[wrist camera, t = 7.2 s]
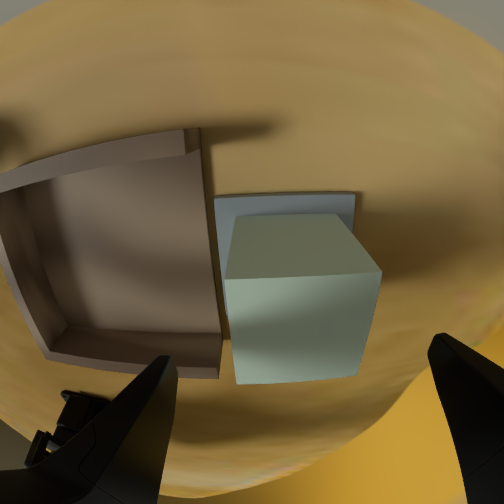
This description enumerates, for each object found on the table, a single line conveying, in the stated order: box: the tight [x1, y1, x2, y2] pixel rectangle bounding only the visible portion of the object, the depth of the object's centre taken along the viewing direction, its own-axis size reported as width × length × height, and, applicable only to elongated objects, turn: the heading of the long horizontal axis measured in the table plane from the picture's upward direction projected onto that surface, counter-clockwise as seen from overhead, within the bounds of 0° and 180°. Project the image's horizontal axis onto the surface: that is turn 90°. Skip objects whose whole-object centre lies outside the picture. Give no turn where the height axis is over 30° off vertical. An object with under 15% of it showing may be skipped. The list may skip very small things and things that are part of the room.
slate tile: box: [214, 192, 355, 316], centre depth 15 cm, size 7×7×1 cm
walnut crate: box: [0, 128, 223, 379], centre depth 14 cm, size 13×13×3 cm
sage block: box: [224, 214, 382, 384], centre depth 12 cm, size 5×5×6 cm
